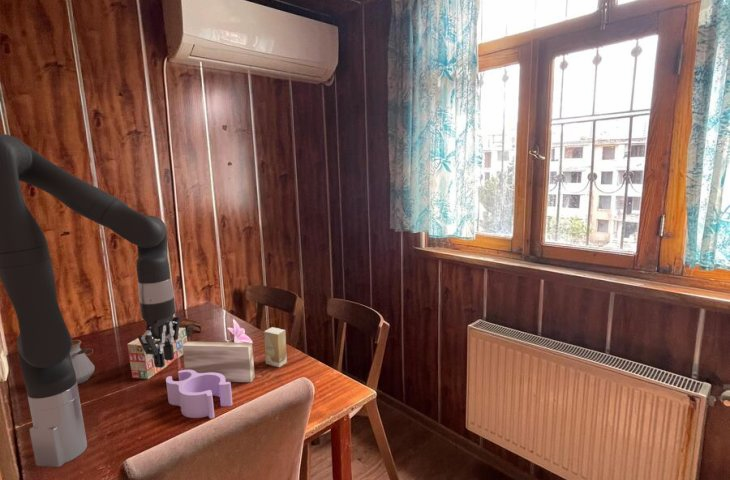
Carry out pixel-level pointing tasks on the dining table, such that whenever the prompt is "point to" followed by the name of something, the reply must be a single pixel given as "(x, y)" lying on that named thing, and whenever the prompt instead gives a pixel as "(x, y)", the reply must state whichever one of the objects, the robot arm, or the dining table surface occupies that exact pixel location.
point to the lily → (239, 334)
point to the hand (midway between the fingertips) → (164, 362)
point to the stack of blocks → (151, 357)
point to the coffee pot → (81, 362)
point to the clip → (198, 392)
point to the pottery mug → (189, 325)
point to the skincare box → (275, 346)
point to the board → (221, 359)
